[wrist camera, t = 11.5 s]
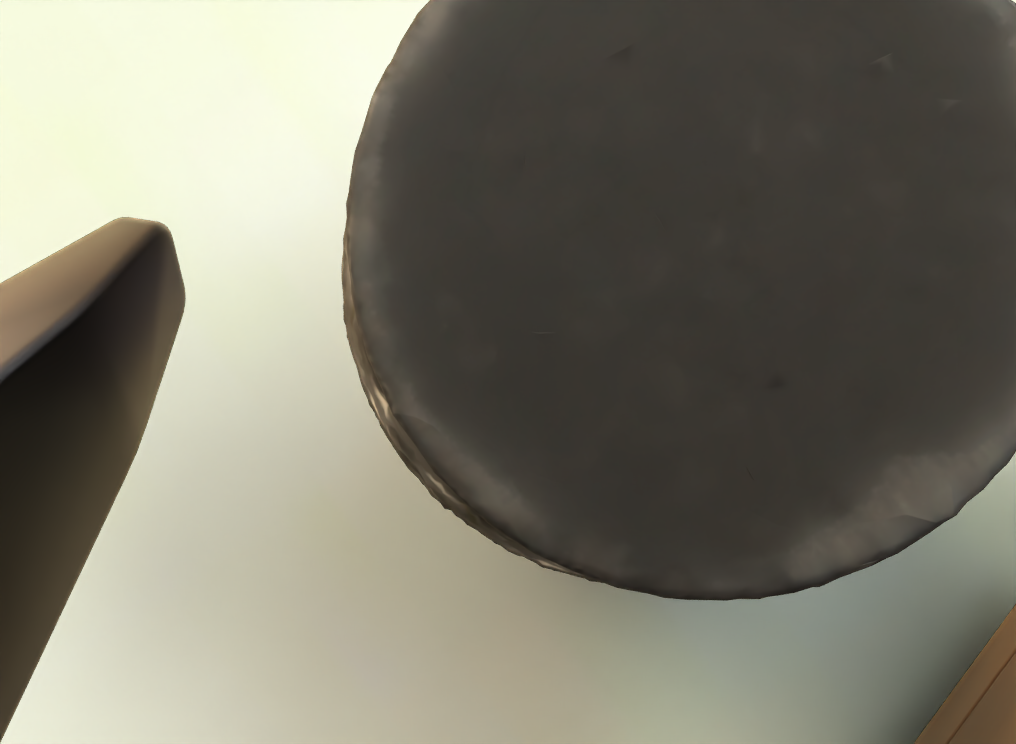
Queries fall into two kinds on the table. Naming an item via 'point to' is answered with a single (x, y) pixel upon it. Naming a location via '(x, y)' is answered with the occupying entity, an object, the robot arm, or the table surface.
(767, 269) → the pill bottle
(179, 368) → the table surface
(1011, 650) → the drawer
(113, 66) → the table surface
